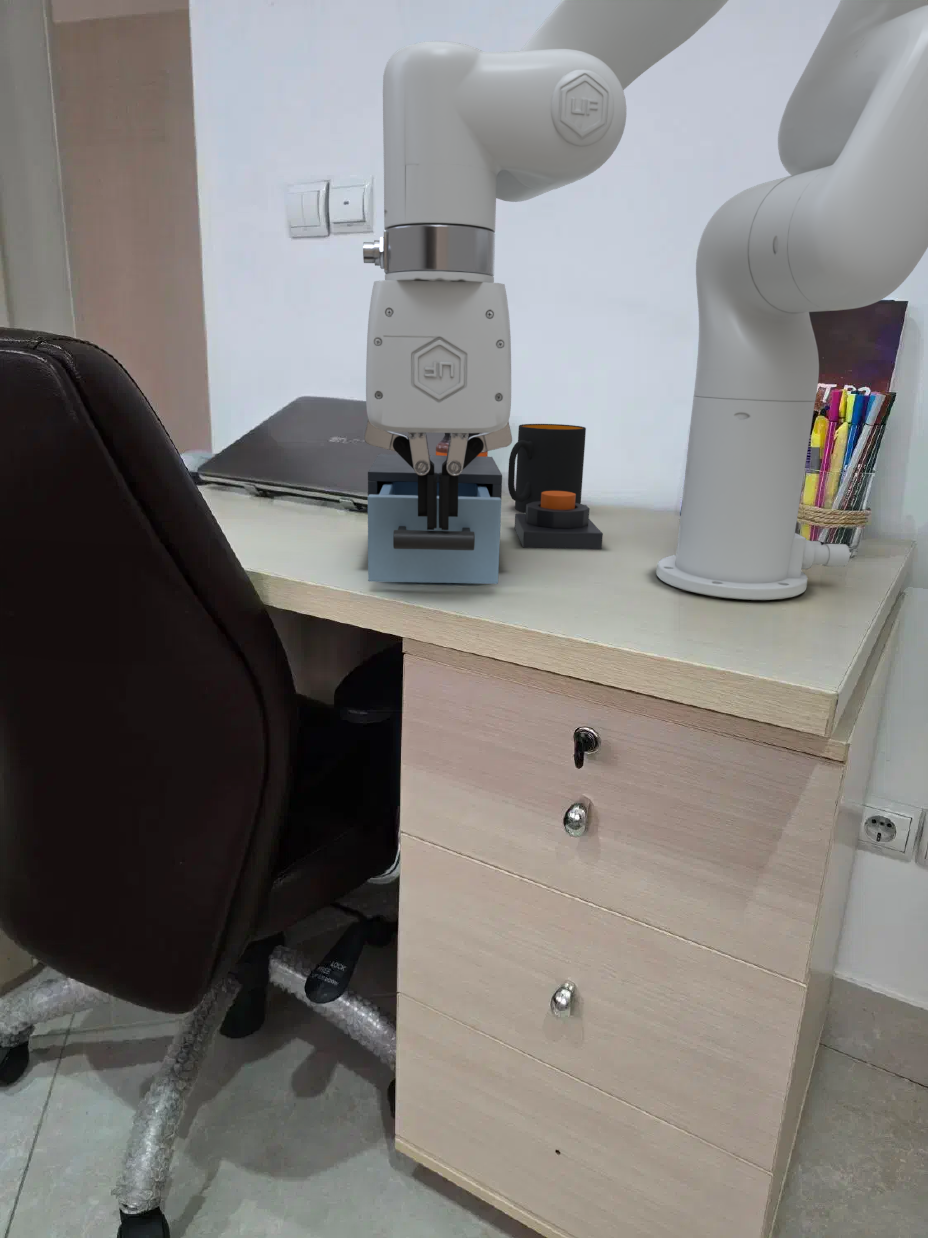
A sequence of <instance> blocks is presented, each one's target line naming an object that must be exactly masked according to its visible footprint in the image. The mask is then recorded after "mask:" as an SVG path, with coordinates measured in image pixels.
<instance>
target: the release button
mask: <svg viewBox="0 0 928 1238" xmlns="http://www.w3.org/2000/svg"><path fill="white" fill-rule="evenodd" d="M575 498H576V494H575V493H572V492H566V491H544V492H542V493H541V507H542V508H547V509H558V510H568V509H575Z"/></svg>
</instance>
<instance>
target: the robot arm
mask: <svg viewBox="0 0 928 1238" xmlns="http://www.w3.org/2000/svg"><path fill="white" fill-rule="evenodd" d="M728 2H729V0H560V1H559V2H558V4H557V5H556V6H555V7H554V9H553V10H552V11H551V12H550V14H549V15H548V16H547V17H546V18H545V19H544V21H543V22H542V23H541V24H540V26H539V27H538V28H537V30H536V31H535V32H534V33H533V34H532V35H531V36H530V38H529V39H528V40H527V41H526V43H525V44H524V45H523V47H522V48H521V49H520V50H514V51H483V50H481V49H479V48H477V47H474V46H473V45H469V44H464V43H462V42H455V41H447V40H430V41H420V42H416V43H412V44H408V45H405V46H403V47H401V48H399V49H398V50H397V51H395V52H394V53H392V54H391V56H390V57H389V58H388V61H387V62H386V65H385V67H384V71H383V75H382V77H383V78H382V127H383V129H382V130H383V132H382V134H383V135H382V138H383V140H382V141H383V142H382V143H383V213H384V214H383V227H384V229H383V236H379V240H378V239H376V240H375V239H374V241H372V242H371V241H369V242H367V241H363V243H362V259H363V264H374V266H377V267H379V268H380V269H381V270H383V272H384V279H383V280H375V281H373V286H372V290H371V295H370V302H369V310H368V320H367V333H366V334H367V337H366V364H365V365H366V366H365V405H366V416H367V422H366V425H365V430H364V435H363V440H364V442H365V443H366V445H369V446H372V447H376V448H381V449H383V450H388V451H392V452H396V454H399V455H400V456H401V457H402V458H403V459H404V460H405V461H406V462H407V463H408V464H409V465H410V466H411V467H412V468H413V469H414V471H415V472H416V473H417V474H418V516H427V530H434V528H437V473H434V463H433V462H432V461H431V460H430V456H429V455H430V451H429V449H430V448H429V443H428V437H427V433H428V434H429V433H431V434H432V433H433V434H436V433H437V434H439V433H440V434H445V433H450V439H449V445H448V452H447V458H446V461H445V462H444V463H443V464H442V473H439V528H442V530H448V528H449V517H458V476H459V474H460V473H461V472H462V470H463V469H464V468H465V467H466V466H467V465H468V464H469V463H470V462H471V461H472V460H473V459H475V458H476V457H477V456H478V455H479V454H480V453H481V452H485V451H488V452H490V451H494V450H498V449H502V448H503V449H504V448H507V447H510V445H511V444H512V442H513V436H512V431H511V425H510V417H511V409H512V408H511V407H512V345H511V344H512V342H511V341H512V340H511V337H512V336H511V322H510V310H509V301H508V295H507V288H506V285H505V283H500V282H495V258H496V257H495V256H496V255H495V253H496V220H497V218H496V216H497V215H496V214H497V212H496V211H497V199H498V200H501V201H503V202H510V203H518V202H520V203H521V202H525V201H528V200H531V199H534V198H536V197H539V196H541V195H543V194H546V193H549V192H550V191H551V192H552V191H554V190H558V189H561V188H563V187H565V186H567V185H570V184H573V183H575V182H578V181H581V180H582V179H584V178H586V177H588V176H590V175H592V174H593V173H594V172H596V171H597V170H599V169H600V168H601V167H602V166H603V165H604V164H606V162H608V160H609V159H610V158H611V157H612V155H613V154H614V152H615V151H616V149H617V148H618V146H619V144H620V142H621V140H622V138H623V134H624V133H625V129H626V123H627V101H626V96H625V91H624V90H626V89H627V88H628V87H629V86H630V85H631V84H632V83H633V82H634V81H635V80H637V79H638V78H639V77H641V75H643V74H644V73H645V72H647V71H648V70H649V69H651V67H653V66H654V65H655V64H657V63H658V62H660V61H661V60H662V59H664V58H666V57H667V56H668V55H670V54H671V53H672V52H673V51H675V50H676V49H678V48H679V47H681V46H682V45H683V44H684V43H686V42H687V41H688V40H689V39H690V38H691V37H693V36H694V35H695V34H696V33H697V32H698V31H699V30H700V29H702V27H703V26H705V25H706V24H707V23H708V22H709V21H710V20H711V19H712V18H713V17H714V16H716V14H717V13H719V11H721V10H722V8H723V7H724V6H725V5H726V4H727V3H728ZM777 149H778V156H779V160H780V162H781V164H782V166H783V168H784V169H785V171H786V172H787V173H788V174H789V175H788V176H785V177H779V178H776V179H773V180H769V181H766V182H762V183H759V184H757V185H754V186H752V187H749V188H746V189H744V190H742V191H740V192H739V193H737V194H735V195H734V196H732V197H731V198H729V199H728V200H726V201H725V202H724V203H723V204H722V205H721V206H720V207H719V208H717V210H716V211H715V212H714V213H713V215H712V216H711V217H710V218H709V220H708V222H707V223H706V224H705V228H704V229H703V231H702V233H701V236H700V239H699V242H698V246H697V250H696V251H697V252H696V259H695V284H696V297H697V308H698V309H697V310H698V343H697V358H696V370H695V381H694V390H693V396H692V405H691V406H692V407H691V416H690V425H689V433H688V442H687V443H688V444H687V451H686V461H685V470H684V471H685V472H684V480H683V489H682V491H683V492H682V499H681V507H680V516H679V527H678V533H677V534H678V536H677V544H676V553H675V554H673V555H668V556H665V557H663V558H661V559H659V560H658V561H657V564H656V577H658V579H659V580H660V581H662V582H664V583H665V584H667V585H669V586H671V587H673V588H677V589H680V590H682V591H686V592H690V593H695V594H699V595H705V596H710V597H717V598H723V599H735V600H748V601H749V600H751V601H770V600H783V599H789V598H790V599H791V598H793V597H797V596H799V595H801V594H804V592H806V590H807V587H808V576H807V574H806V573H805V572H803V571H802V570H809V569H811V568H812V566H813V565H814V566H816V565H817V566H821V567H822V566H823V567H846V566H847V565H848V564H849V561H850V558H851V552H850V551H851V550H850V547H849V545H848V544H846V543H824V544H822V543H821V542H820V541H819V540H809V539H807V538H806V537H805V536H802V535H801V534H799V533H796V530H797V521H798V515H799V509H800V503H801V495H802V489H803V482H804V476H805V470H806V463H807V456H808V449H809V443H810V437H811V429H812V425H813V424H812V423H813V418H814V417H813V416H814V410H815V404H816V400H817V392H818V386H819V378H820V377H819V376H820V361H819V350H818V344H817V340H816V336H815V332H814V329H813V325H812V321H811V316H810V313H814V312H816V313H817V312H830V311H831V312H833V311H835V312H836V311H843V310H844V311H845V310H855V309H860V308H863V307H867V306H870V305H873V304H875V303H877V302H880V301H882V300H884V299H885V298H887V297H889V296H890V295H891V294H892V293H893V292H895V291H896V290H897V289H898V288H900V286H901V285H902V284H903V283H904V282H905V281H906V280H907V278H908V277H909V276H910V275H911V274H912V273H913V271H914V270H915V268H916V267H917V265H919V262H920V261H921V259H922V258H923V256H924V255H925V254H926V251H927V250H928V0H839V3H838V5H837V7H836V9H835V11H834V13H833V15H832V17H831V19H830V20H829V22H828V24H827V26H826V28H825V30H824V32H823V34H822V36H821V38H820V40H819V41H818V43H817V45H816V47H815V49H814V51H813V53H812V54H811V57H810V58H809V60H808V62H807V64H806V66H805V68H804V69H803V71H802V74H801V75H800V77H799V79H798V80H797V83H796V85H795V87H794V89H793V90H792V92H791V95H790V96H789V99H788V101H787V103H786V105H785V108H784V111H783V114H782V116H781V119H780V122H779V128H778V132H777ZM402 433H407V434H408V436H407V435H406V434H402ZM469 433H480V434H479V435H473V436H470V437H469V438H468V435H469Z"/></svg>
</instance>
